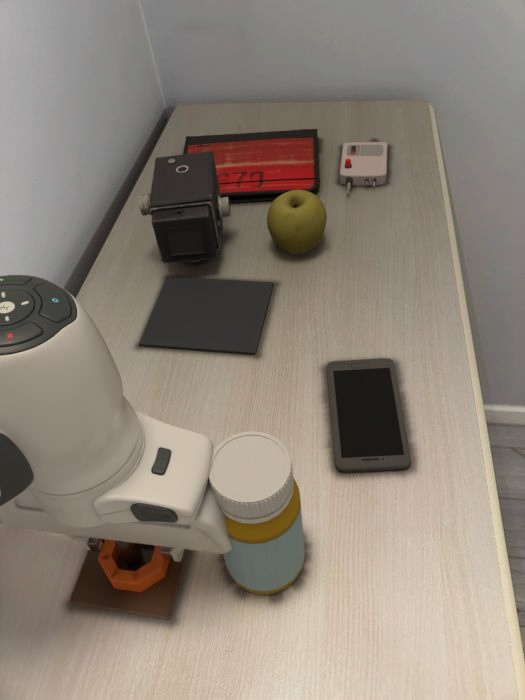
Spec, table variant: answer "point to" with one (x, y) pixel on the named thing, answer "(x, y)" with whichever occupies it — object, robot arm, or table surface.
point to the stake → (102, 595)
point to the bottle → (259, 511)
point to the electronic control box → (363, 164)
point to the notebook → (261, 162)
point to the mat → (208, 315)
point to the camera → (186, 207)
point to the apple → (297, 221)
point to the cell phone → (366, 416)
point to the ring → (132, 579)
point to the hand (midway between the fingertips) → (136, 548)
